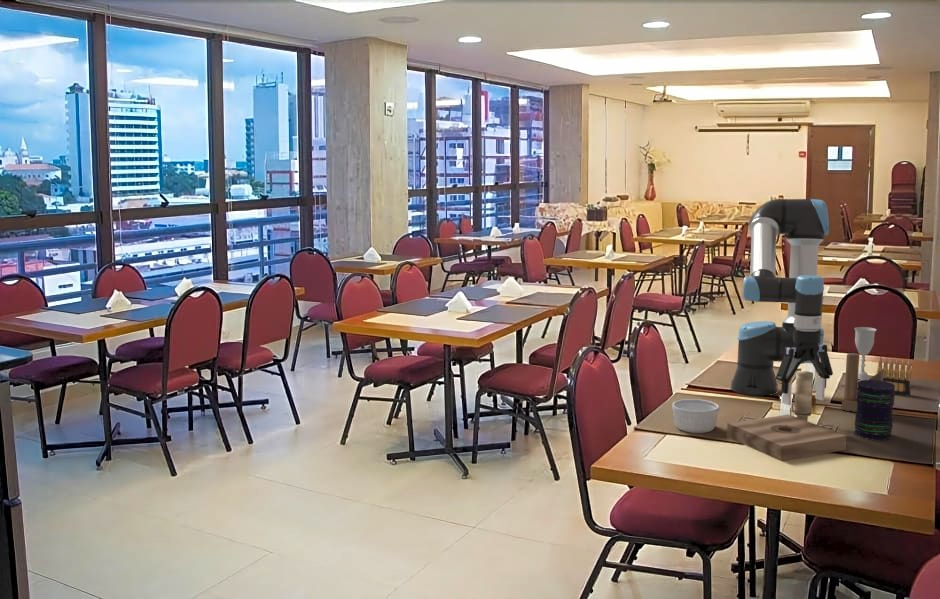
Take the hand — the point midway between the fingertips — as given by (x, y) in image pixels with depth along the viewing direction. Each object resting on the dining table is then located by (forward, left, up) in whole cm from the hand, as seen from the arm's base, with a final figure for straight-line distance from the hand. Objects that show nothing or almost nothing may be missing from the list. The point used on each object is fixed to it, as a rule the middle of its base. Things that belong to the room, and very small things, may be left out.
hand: (803, 401), depth 265 cm
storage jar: (+15, +12, -8) cm, 21 cm away
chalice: (-36, +60, -8) cm, 70 cm away
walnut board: (+11, -16, -7) cm, 21 cm away
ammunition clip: (-17, +54, -8) cm, 57 cm away
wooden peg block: (-4, +27, -8) cm, 28 cm away
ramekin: (-11, -30, -8) cm, 33 cm away
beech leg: (0, 0, -7) cm, 7 cm away
